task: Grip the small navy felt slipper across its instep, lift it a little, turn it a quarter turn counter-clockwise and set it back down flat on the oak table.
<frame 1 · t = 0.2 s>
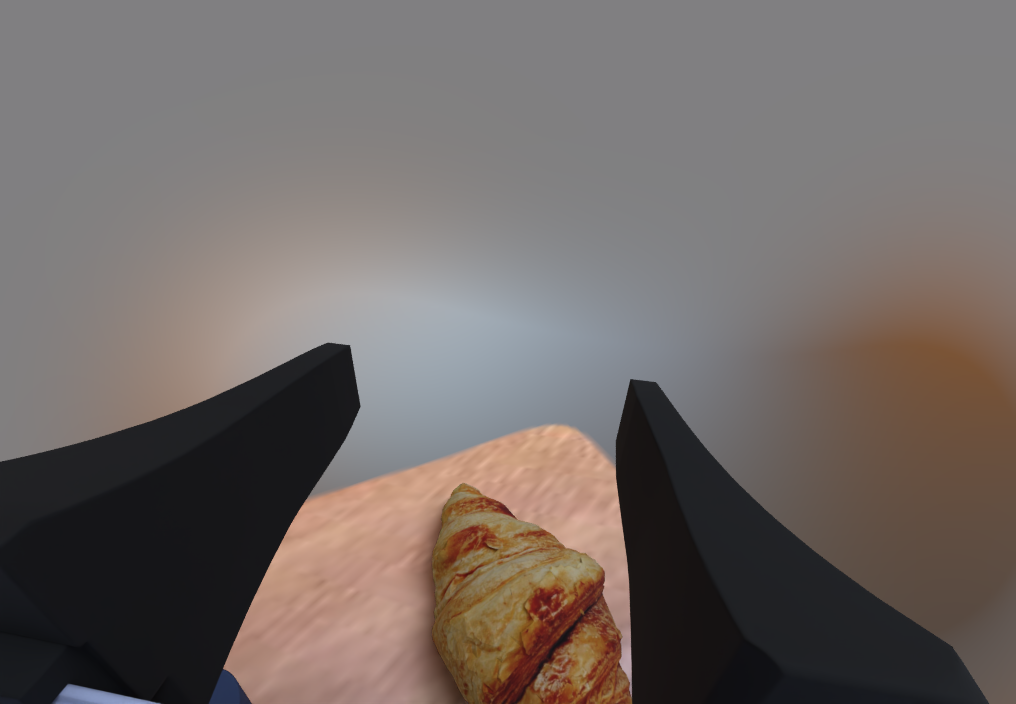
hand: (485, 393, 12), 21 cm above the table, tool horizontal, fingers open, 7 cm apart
croissant: (524, 635, 27), on the table
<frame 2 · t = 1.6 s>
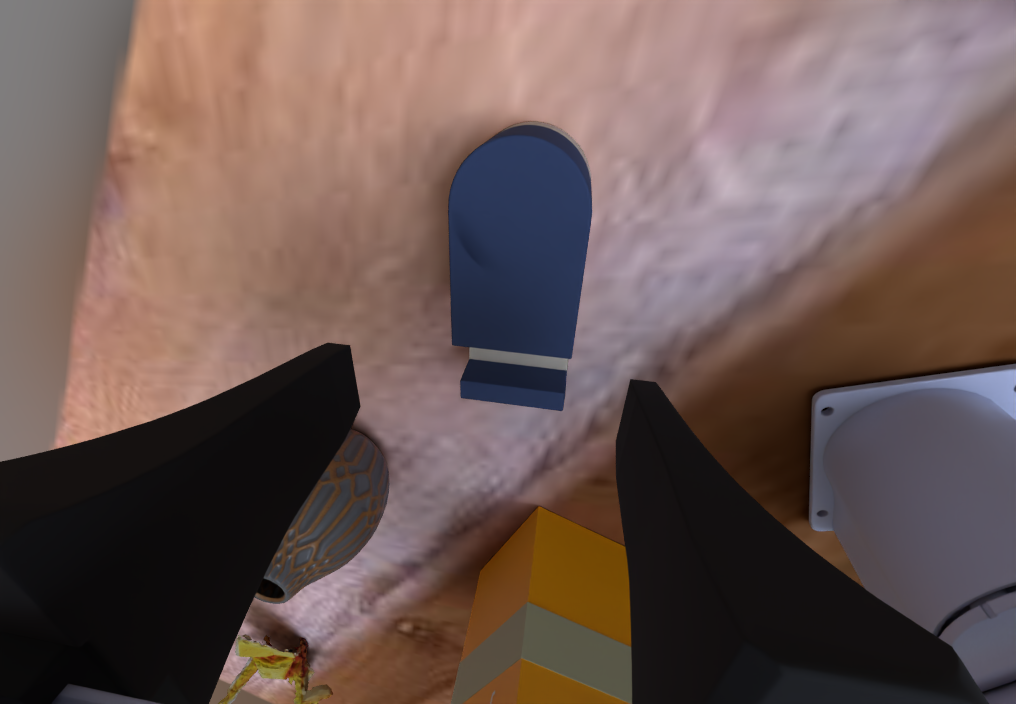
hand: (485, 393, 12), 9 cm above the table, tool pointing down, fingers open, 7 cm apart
vase: (351, 449, 28), on the table
orange juice: (556, 560, 31), on the table
slipper: (519, 367, 22), on the table
origami crane: (290, 638, 43), on the table
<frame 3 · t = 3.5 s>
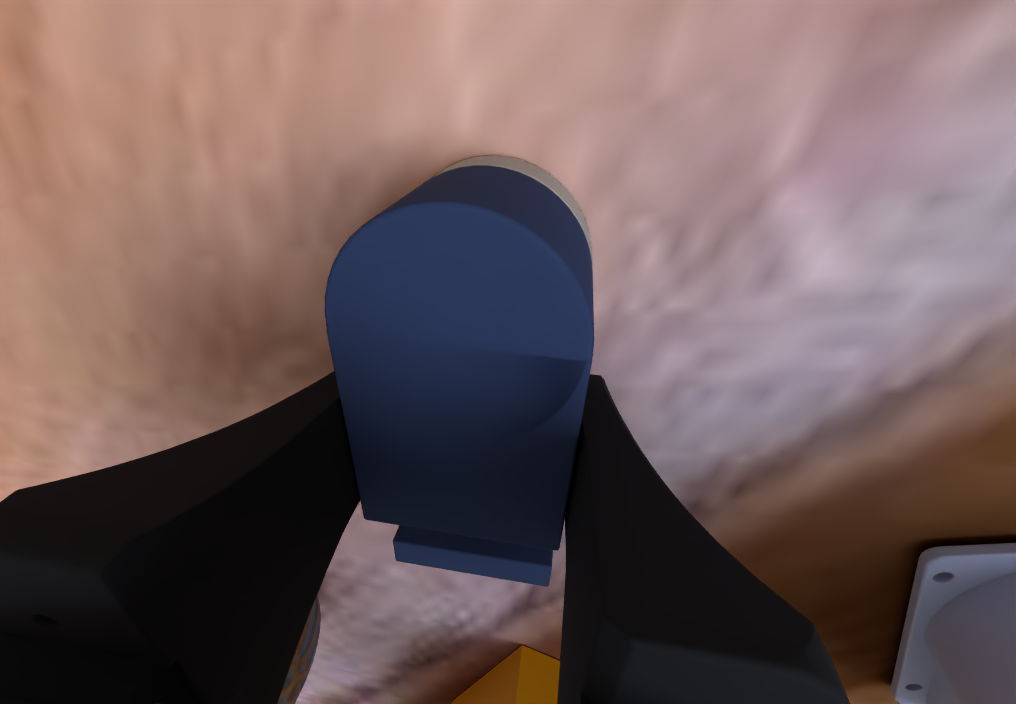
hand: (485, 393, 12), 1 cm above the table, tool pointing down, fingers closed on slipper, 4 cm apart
vase: (275, 569, 21), on the table
orange juice: (547, 697, 24), on the table
slipper: (489, 493, 16), on the table, touching gripper
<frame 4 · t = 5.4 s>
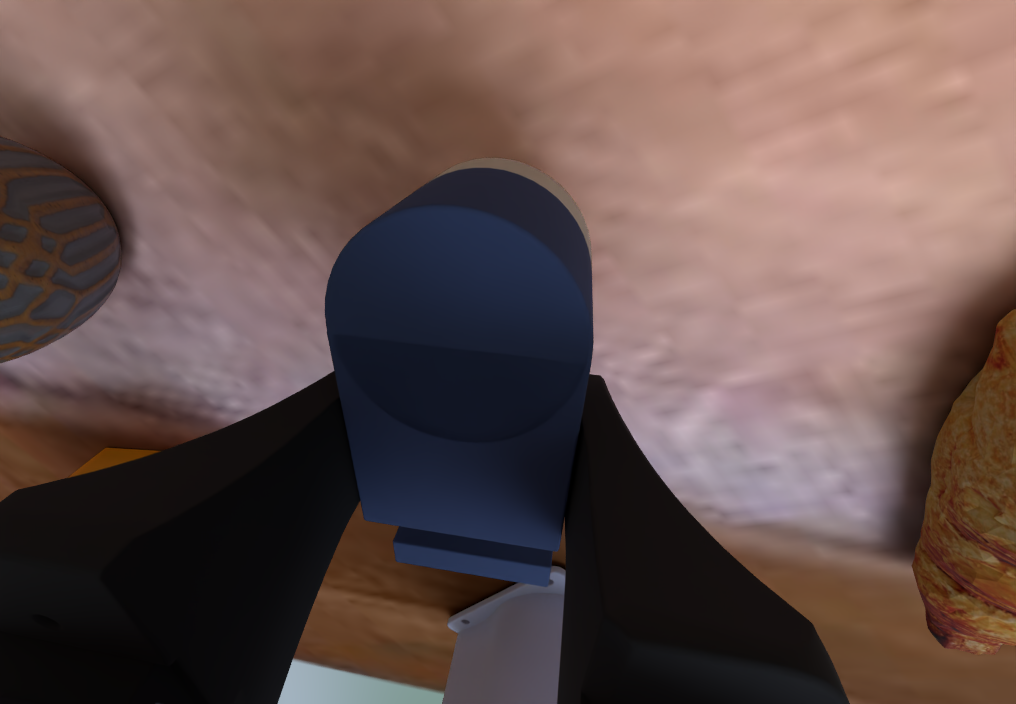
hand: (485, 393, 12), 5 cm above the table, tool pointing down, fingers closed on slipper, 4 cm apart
vase: (72, 216, 17), on the table
orange juice: (211, 499, 25), on the table
slipper: (489, 494, 16), point 3 cm above the table, touching gripper
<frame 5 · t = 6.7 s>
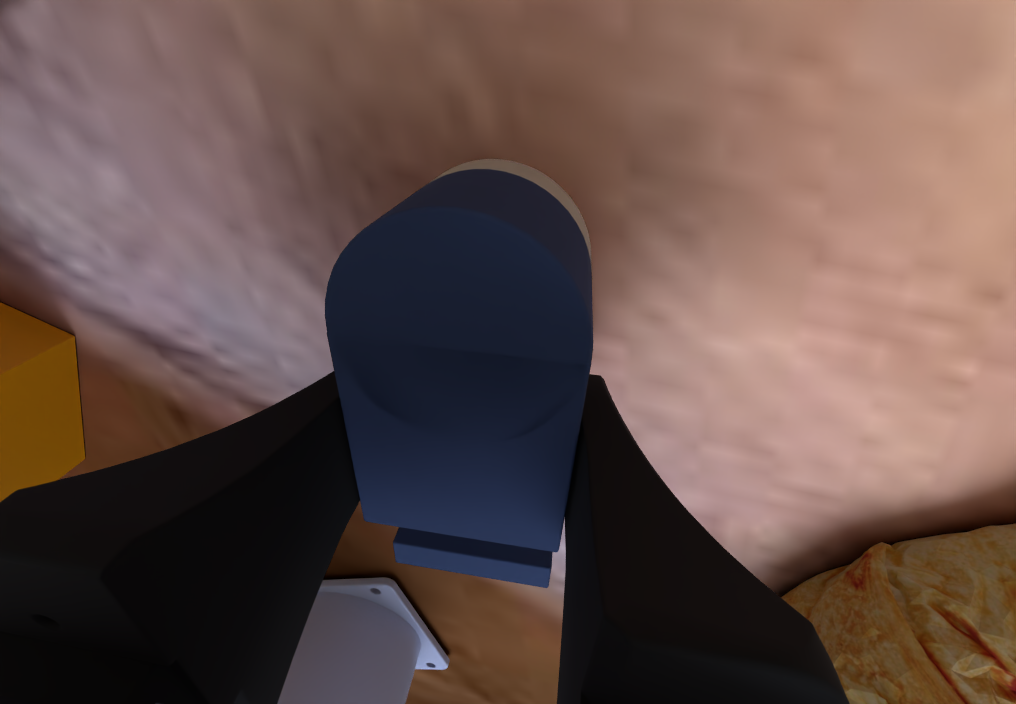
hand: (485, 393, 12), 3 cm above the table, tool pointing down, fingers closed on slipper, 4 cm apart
slipper: (489, 495, 16), point 1 cm above the table, touching gripper
croissant: (892, 607, 18), on the table
when the fingers open (1 cm above the table, at t = 7.5 s): slipper stays where it is, on the table.
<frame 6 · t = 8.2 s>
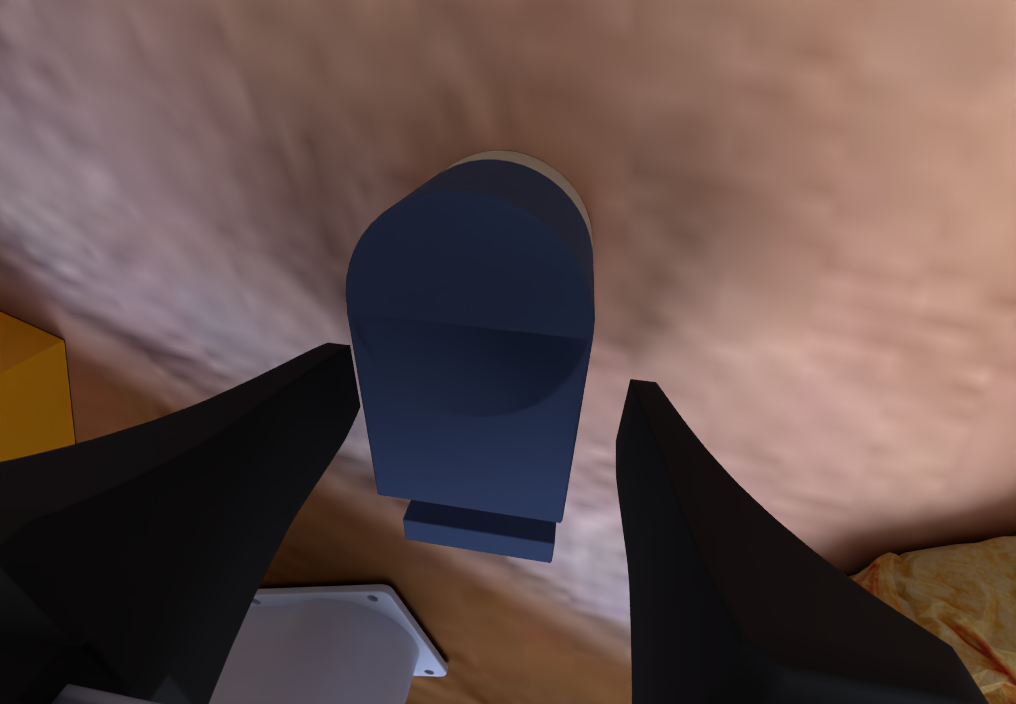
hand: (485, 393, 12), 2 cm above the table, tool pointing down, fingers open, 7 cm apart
slipper: (494, 477, 16), on the table
croissant: (899, 617, 17), on the table
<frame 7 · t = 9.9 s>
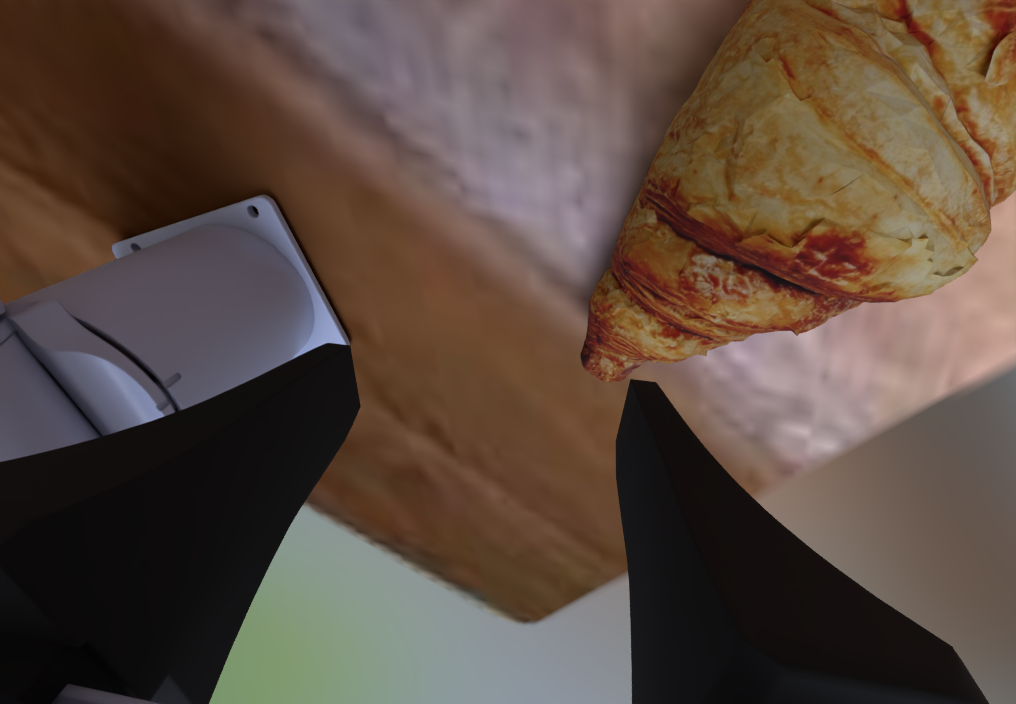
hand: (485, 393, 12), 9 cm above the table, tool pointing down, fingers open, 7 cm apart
croissant: (803, 149, 16), on the table
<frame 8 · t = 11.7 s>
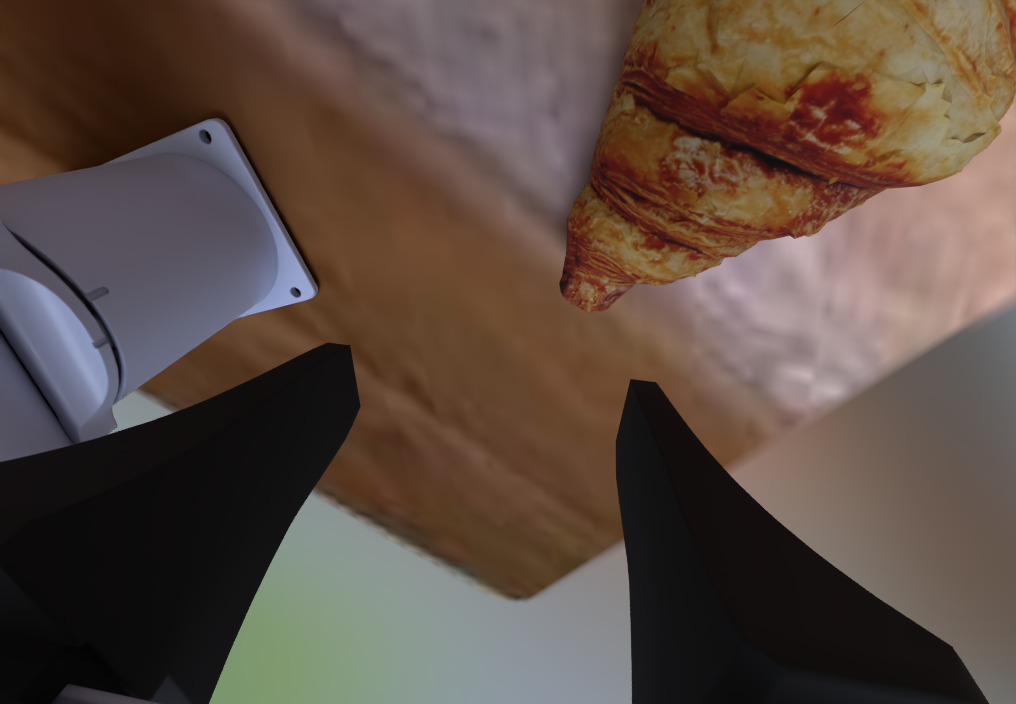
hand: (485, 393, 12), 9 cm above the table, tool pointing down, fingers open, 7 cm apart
croissant: (800, 39, 14), on the table
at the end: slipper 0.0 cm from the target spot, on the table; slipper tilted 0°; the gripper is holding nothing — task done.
